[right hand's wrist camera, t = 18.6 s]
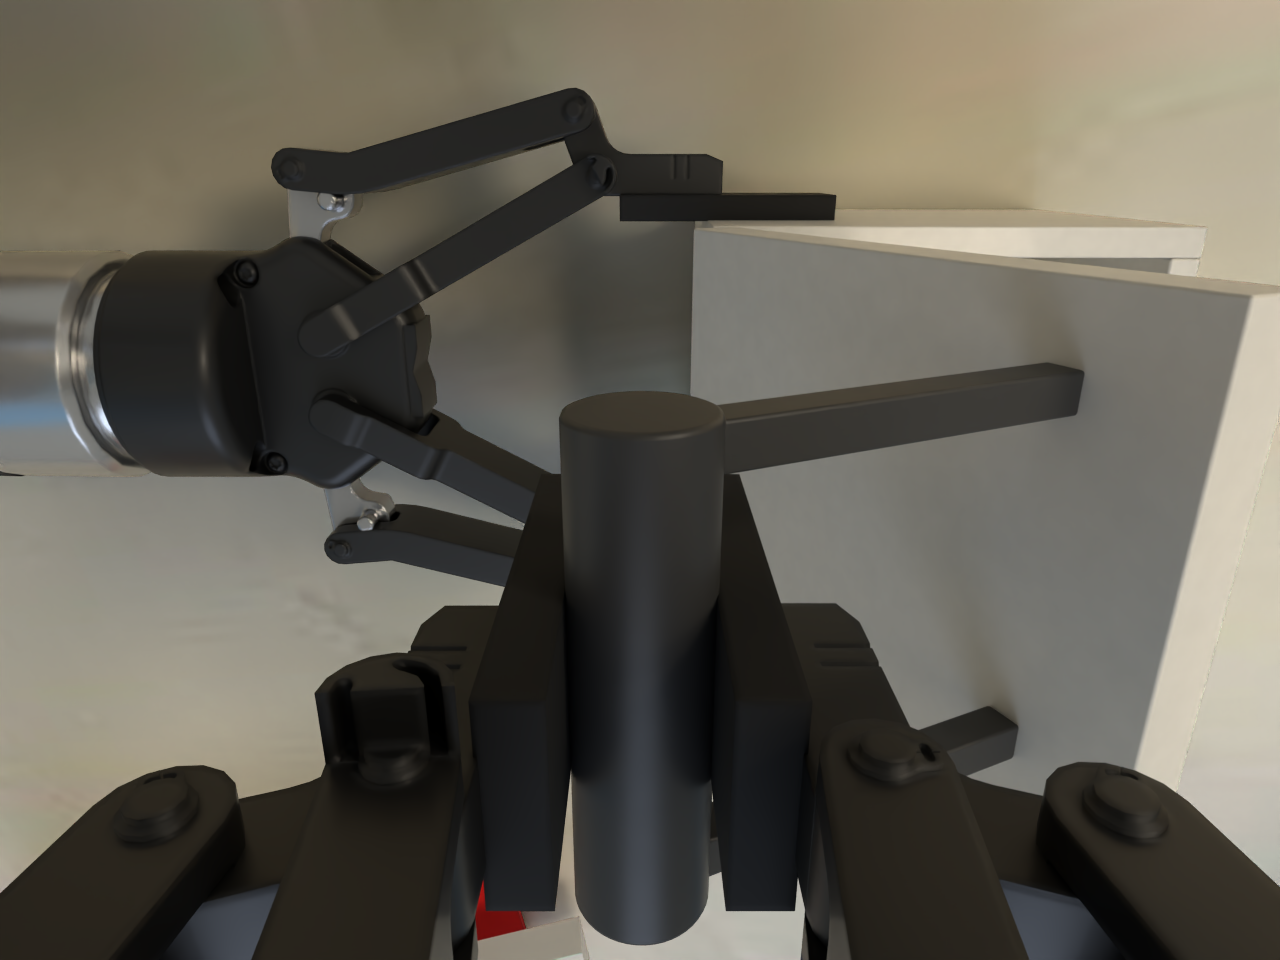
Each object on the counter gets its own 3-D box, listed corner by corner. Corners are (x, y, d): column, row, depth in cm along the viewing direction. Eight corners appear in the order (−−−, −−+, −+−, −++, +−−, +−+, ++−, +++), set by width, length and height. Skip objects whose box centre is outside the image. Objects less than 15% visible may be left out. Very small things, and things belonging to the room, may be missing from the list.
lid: (1316, 289, 11) (661, 353, 7) (1155, 874, 14) (654, 1133, 10) (734, 226, 22) (377, 238, 19) (722, 551, 26) (416, 616, 22)
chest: (1036, 209, 33) (1208, 226, 23) (1000, 442, 36) (1136, 549, 26) (695, 208, 33) (712, 226, 23) (690, 440, 36) (703, 546, 26)
